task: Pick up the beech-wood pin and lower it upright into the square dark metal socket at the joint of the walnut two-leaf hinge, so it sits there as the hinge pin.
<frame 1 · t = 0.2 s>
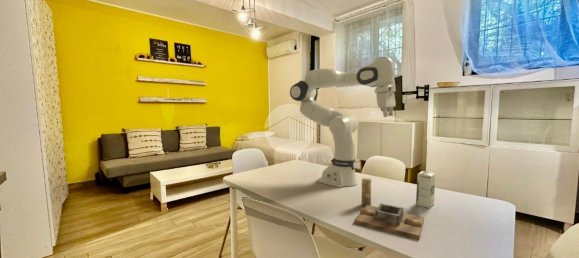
hand: (388, 116, 125), 39 cm above the table, tool pointing down, fingers open, 8 cm apart
hinge: (389, 222, 94), on the table
syrup box: (425, 205, 109), on the table
pin: (366, 205, 110), on the table
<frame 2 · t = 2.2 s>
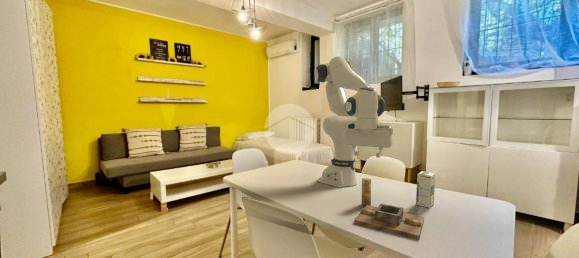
hand: (367, 156, 107), 22 cm above the table, tool pointing down, fingers open, 8 cm apart
nothing on the table moved.
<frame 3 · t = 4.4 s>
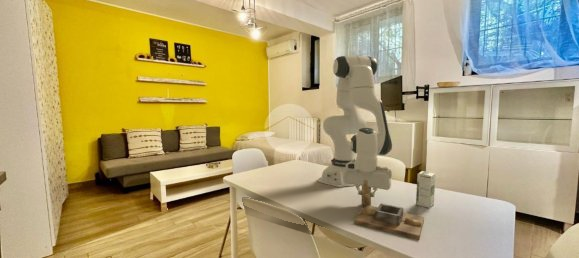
hand: (366, 195, 109), 4 cm above the table, tool pointing down, fingers closed on pin, 4 cm apart
pin: (366, 205, 110), on the table, touching gripper
everything else where it was.
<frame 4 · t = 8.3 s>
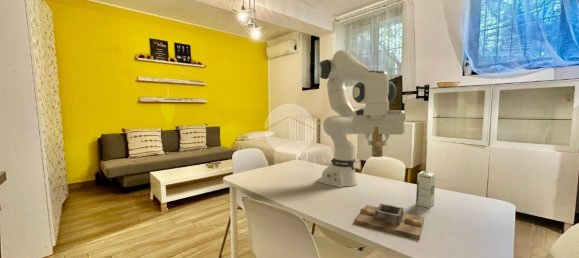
hand: (377, 145, 99), 28 cm above the table, tool pointing down, fingers closed on pin, 4 cm apart
pin: (377, 156, 99), point 24 cm above the table, touching gripper
everything else where it was.
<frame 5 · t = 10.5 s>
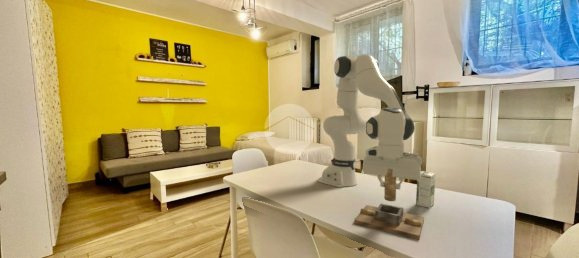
hand: (390, 187, 93), 14 cm above the table, tool pointing down, fingers closed on pin, 4 cm apart
pin: (390, 199, 93), point 9 cm above the table, touching gripper
everything else where it was.
when the fingers open (7 cm above the table, at t = 12.3 s): pin drops 1 cm, resting on hinge.
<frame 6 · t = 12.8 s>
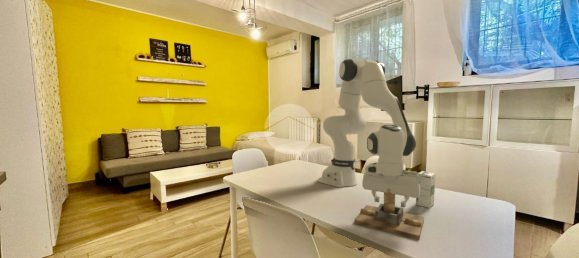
hand: (389, 204, 93), 7 cm above the table, tool pointing down, fingers open, 8 cm apart
pin: (389, 218, 94), point 2 cm above the table, touching hinge
everything else where it was.
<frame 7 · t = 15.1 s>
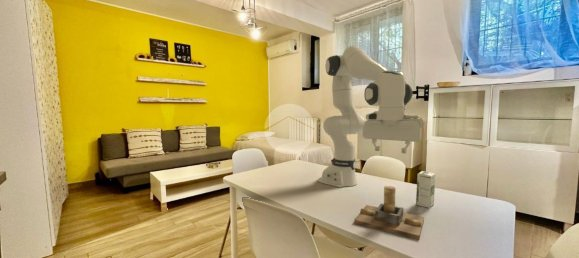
hand: (390, 151, 92), 27 cm above the table, tool pointing down, fingers open, 8 cm apart
nothing on the table moved.
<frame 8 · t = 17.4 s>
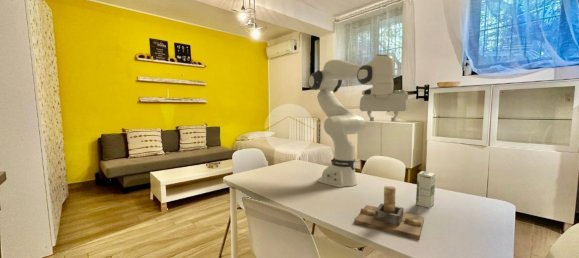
hand: (382, 121, 112), 37 cm above the table, tool pointing down, fingers open, 8 cm apart
nothing on the table moved.
at the end: pin 0.1 cm off-centre on the hinge, point 1.5 cm above the hinge's base; pin tilted 0°; the gripper is holding nothing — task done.
